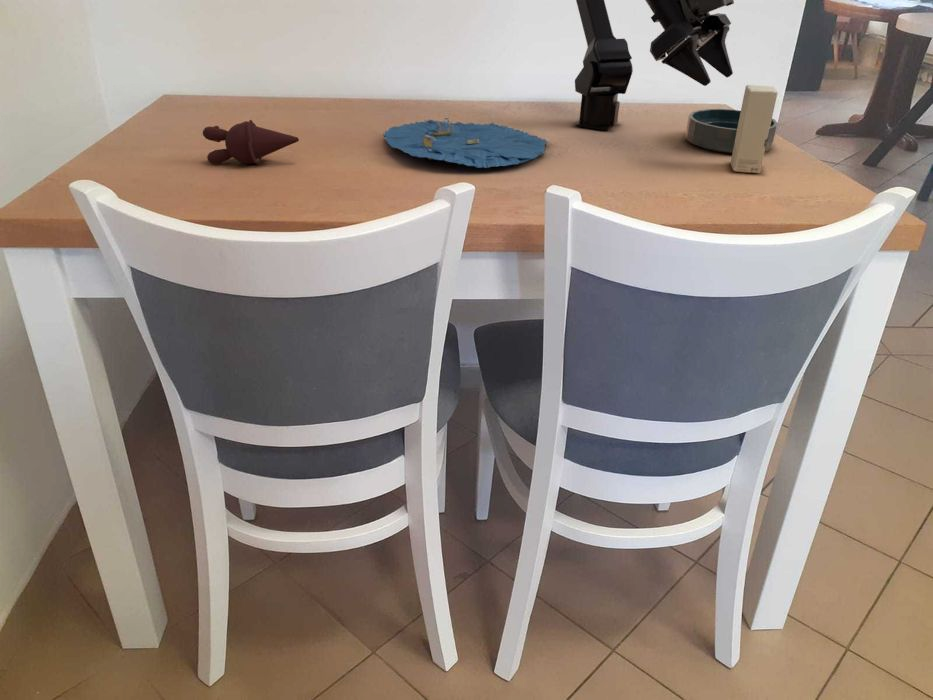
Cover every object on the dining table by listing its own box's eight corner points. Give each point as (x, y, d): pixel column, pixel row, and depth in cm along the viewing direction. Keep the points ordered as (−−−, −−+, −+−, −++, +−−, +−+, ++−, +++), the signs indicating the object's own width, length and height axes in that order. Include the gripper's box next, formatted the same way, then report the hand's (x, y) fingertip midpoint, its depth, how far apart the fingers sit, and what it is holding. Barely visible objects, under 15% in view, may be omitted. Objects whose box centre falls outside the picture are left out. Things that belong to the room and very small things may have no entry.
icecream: (300, 116, 120) (208, 123, 120) (290, 115, 113) (193, 123, 113) (306, 160, 122) (215, 167, 122) (297, 162, 115) (201, 169, 115)
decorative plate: (443, 123, 147) (443, 96, 145) (576, 149, 133) (579, 119, 130) (339, 150, 126) (338, 119, 123) (484, 184, 111) (486, 149, 109)
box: (760, 174, 120) (779, 92, 113) (732, 172, 120) (749, 90, 114) (756, 164, 124) (774, 85, 117) (728, 162, 125) (745, 83, 118)
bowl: (676, 148, 132) (681, 122, 129) (694, 128, 143) (698, 105, 141) (765, 161, 126) (771, 134, 124) (776, 140, 138) (782, 115, 136)
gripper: (681, -37, 107) (740, 53, 107) (730, -42, 119) (782, 39, 119) (625, 17, 115) (679, 101, 115) (677, 7, 128) (725, 83, 128)
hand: (719, 79), depth 119 cm, fingers open, 9 cm apart
